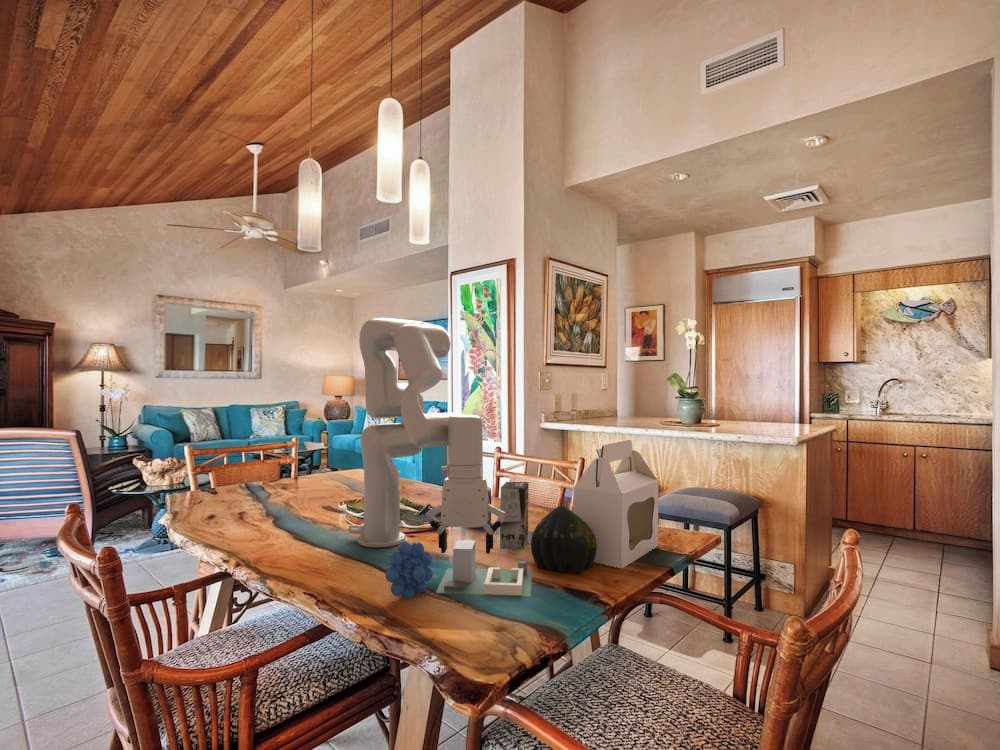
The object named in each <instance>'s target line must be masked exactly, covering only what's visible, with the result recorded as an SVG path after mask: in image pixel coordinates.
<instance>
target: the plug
mask: <svg viewBox="0 0 1000 750" xmlns="http://www.w3.org/2000/svg"><path fill="white" fill-rule="evenodd" d="M452 568H453V581H466V582H471V583H472V580H473V577H474V574H475V569H476V540H467V539H466V540H465V539H464V540H463V539H457V541H456V542H455V544H454V545H453V548H452Z"/></svg>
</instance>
